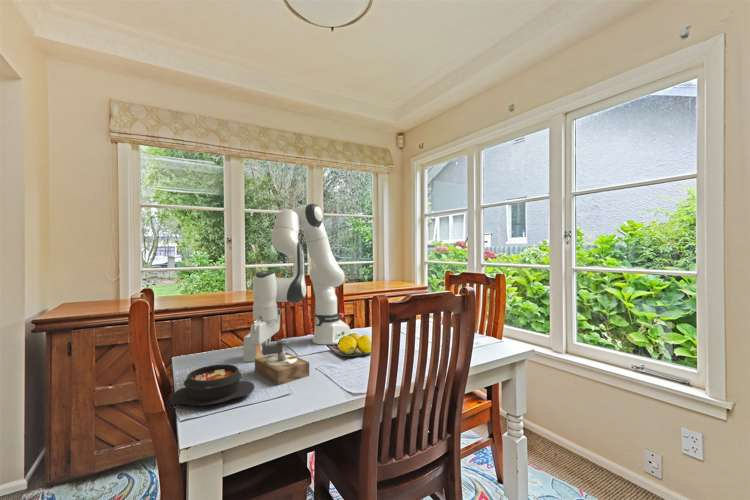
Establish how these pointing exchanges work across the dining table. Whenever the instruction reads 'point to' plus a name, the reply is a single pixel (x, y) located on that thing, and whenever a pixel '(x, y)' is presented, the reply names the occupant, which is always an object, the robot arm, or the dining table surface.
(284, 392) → the dining table surface
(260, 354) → the small box
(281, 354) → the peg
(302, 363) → the dial block
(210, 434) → the dining table surface
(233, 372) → the casserole
